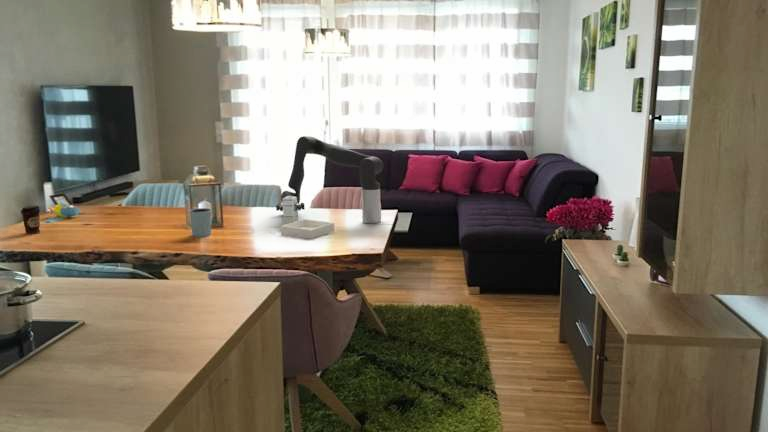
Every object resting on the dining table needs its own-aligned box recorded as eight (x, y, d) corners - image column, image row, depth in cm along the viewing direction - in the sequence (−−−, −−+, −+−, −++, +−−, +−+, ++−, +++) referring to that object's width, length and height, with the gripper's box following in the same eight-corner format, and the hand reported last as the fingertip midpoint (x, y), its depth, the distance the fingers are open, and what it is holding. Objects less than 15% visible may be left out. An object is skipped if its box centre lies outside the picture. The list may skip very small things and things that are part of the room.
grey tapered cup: (193, 237, 301) (191, 212, 298) (188, 233, 310) (187, 209, 307) (215, 235, 305) (213, 210, 303) (210, 231, 314) (208, 207, 312)
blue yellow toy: (67, 198, 367) (91, 199, 364) (68, 213, 368) (93, 214, 366) (33, 207, 339) (59, 208, 337) (35, 223, 341) (61, 224, 339)
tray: (305, 227, 321) (304, 219, 320) (334, 231, 312) (334, 222, 311) (281, 234, 306) (280, 226, 305) (311, 238, 297) (310, 230, 296)
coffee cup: (47, 231, 318) (44, 205, 315) (33, 235, 310) (30, 208, 308) (33, 230, 321) (30, 204, 318) (19, 234, 313) (16, 207, 310)
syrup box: (294, 226, 323) (293, 198, 320) (283, 226, 324) (282, 197, 321) (298, 224, 328) (297, 196, 325) (287, 224, 329) (286, 196, 326)
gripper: (276, 197, 338) (275, 202, 322) (303, 196, 340) (304, 201, 324) (277, 211, 339) (276, 217, 323) (304, 210, 341) (304, 215, 325)
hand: (290, 209), depth 324 cm, fingers open, 8 cm apart
